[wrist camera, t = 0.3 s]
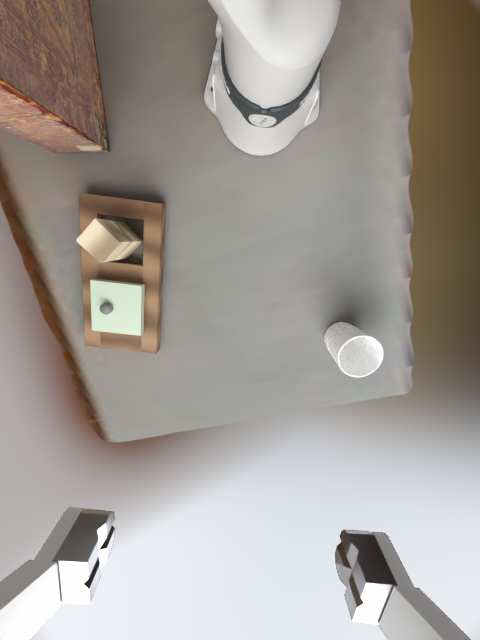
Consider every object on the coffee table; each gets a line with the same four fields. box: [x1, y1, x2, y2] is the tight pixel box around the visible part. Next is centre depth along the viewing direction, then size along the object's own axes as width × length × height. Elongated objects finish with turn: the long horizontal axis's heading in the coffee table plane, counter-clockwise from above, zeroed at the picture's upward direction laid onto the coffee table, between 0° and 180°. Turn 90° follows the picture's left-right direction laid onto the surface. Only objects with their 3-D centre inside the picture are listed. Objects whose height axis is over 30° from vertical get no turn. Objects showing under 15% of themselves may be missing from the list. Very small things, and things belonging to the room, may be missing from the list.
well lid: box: [90, 279, 145, 336], centre depth 50 cm, size 10×9×3 cm
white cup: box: [324, 322, 383, 377], centre depth 52 cm, size 8×8×10 cm
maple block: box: [76, 218, 143, 263], centre depth 46 cm, size 4×4×11 cm
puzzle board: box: [79, 193, 166, 353], centre depth 52 cm, size 28×14×2 cm, turn 173°
